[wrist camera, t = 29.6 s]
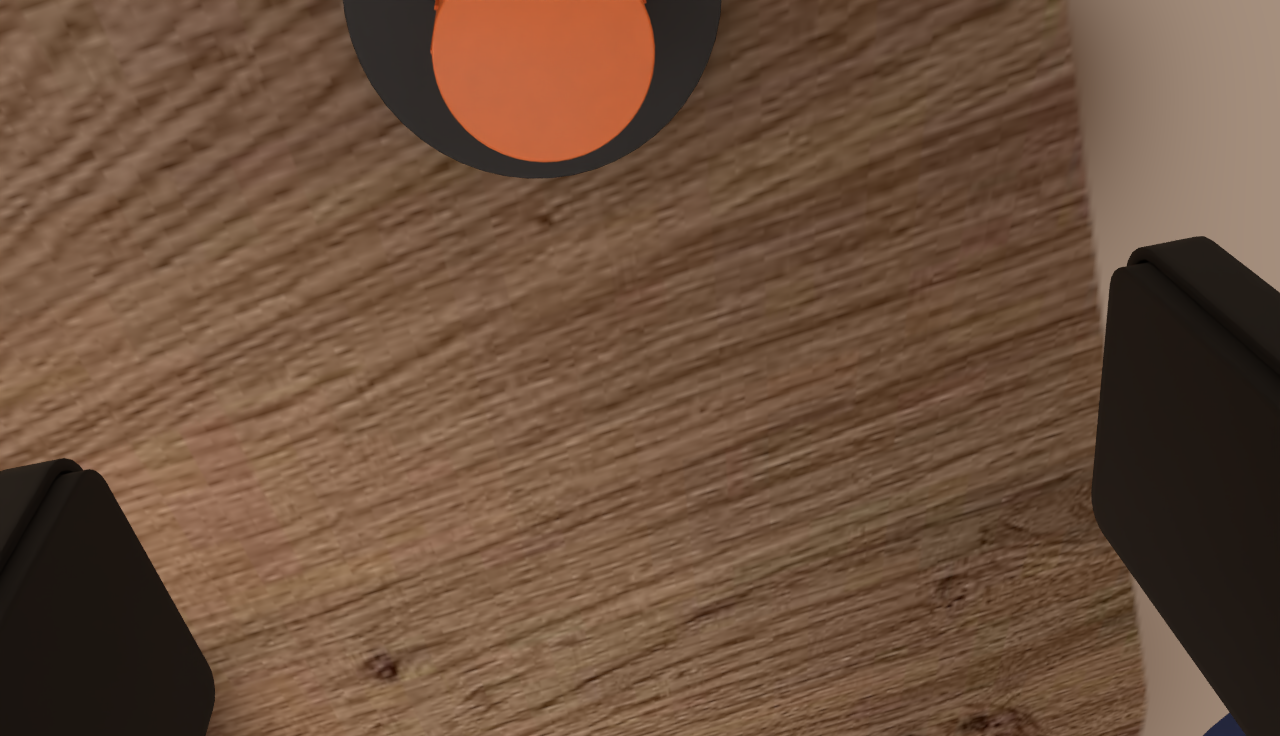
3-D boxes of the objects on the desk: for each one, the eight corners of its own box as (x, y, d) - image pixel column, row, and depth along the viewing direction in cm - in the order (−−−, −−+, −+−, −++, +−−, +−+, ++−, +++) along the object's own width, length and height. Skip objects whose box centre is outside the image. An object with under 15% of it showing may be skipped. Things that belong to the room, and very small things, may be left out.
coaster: (693, -250, 21) (696, -249, 20) (738, 135, 25) (741, 141, 25) (288, -170, 21) (285, -168, 20) (405, 202, 25) (403, 209, 25)
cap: (651, -79, 22) (677, -39, 19) (615, 114, 24) (633, 177, 21) (448, -117, 21) (441, -82, 18) (429, 86, 23) (420, 148, 20)
